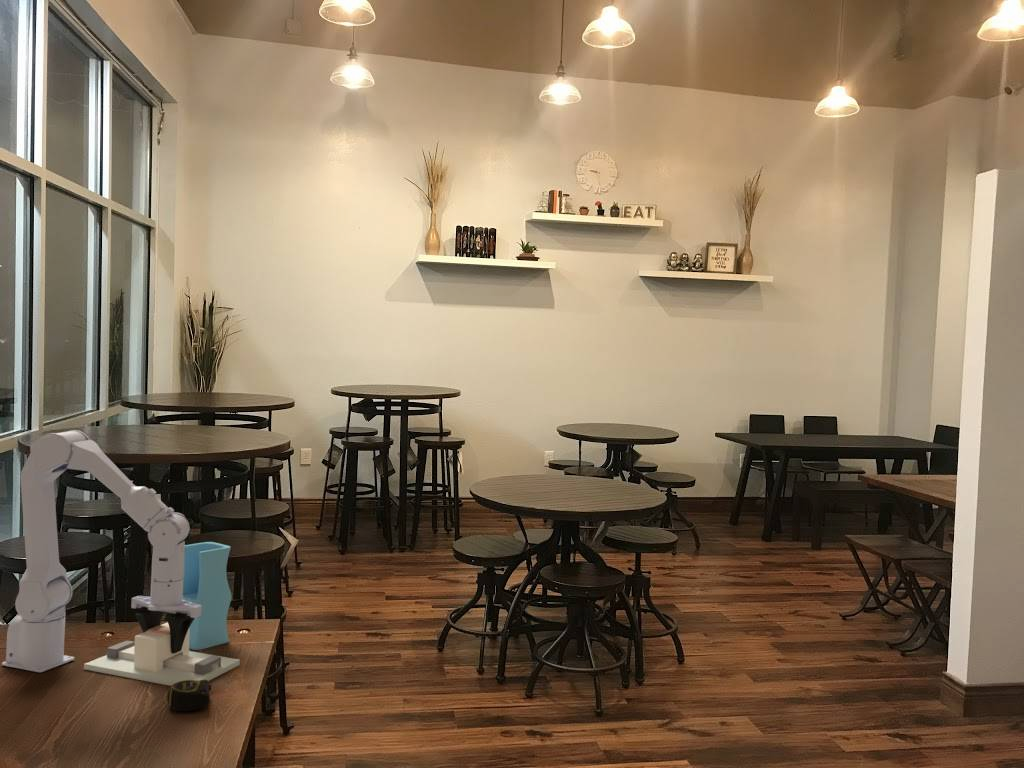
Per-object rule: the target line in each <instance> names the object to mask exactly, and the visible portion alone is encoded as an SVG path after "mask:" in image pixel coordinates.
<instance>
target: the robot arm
mask: <svg viewBox="0 0 1024 768" xmlns="http://www.w3.org/2000/svg"><path fill="white" fill-rule="evenodd" d="M29 448H30V453H29V454H28V457H27V459H26V460H25V461H26V462H25V463H24V465H23V467H22V470H21V472H20V476H19V477H20V478H19V479H20V487H21V488H20V489H21V490H20V492H21V505H22V519H23V532H24V533H23V535H24V547H25V562H26V569H25V571H24V573H23V575H22V577H21V578H20V579H19V583H18V585H19V589H18V593H17V596H16V598H15V603H14V604H15V610H16V612H17V614H18V615H17V616H15V617H14V618H13V619H12V620H11V622H10V623H9V625H8V628H7V632H6V633H7V634H6V651H5V653H6V654H5V655H6V656H5V661H3V662H1V665H2V666H5V667H10V668H16V669H20V670H25V671H30V672H35V673H43V672H46V671H48V670H51V669H54V668H57V667H59V666H61V665H64V664H67V663H69V662H71V661H75V656H71V655H64V653H65V636H66V635H65V632H66V631H65V629H66V605H67V604H68V603H70V601H71V599H72V597H73V587H72V584H71V582H70V581H69V579H68V576H67V569H66V568H65V567H64V565H62V564H61V562H60V553H59V539H58V525H57V524H58V523H57V512H56V510H57V509H56V508H57V507H56V497H55V480H57V479H58V477H60V475H62V474H63V473H64V472H65V471H66V470H68V469H69V470H76V471H83V472H84V471H85V472H88V473H89V474H90V475H92V476H93V477H94V478H95V479H97V480H98V481H99V482H100V483H102V485H104V487H106V488H108V489H109V490H110V491H111V492H112V493H113V494H114V495H116V496H117V497H118V498H119V499H120V507H121V510H123V512H125V513H126V515H128V516H129V517H130V518H131V519H132V520H133V521H134V522H135V523H137V525H139V526H140V528H142V529H143V530H144V531H145V532H147V538H148V541H149V542H150V544H151V545H152V555H151V556H152V558H151V574H150V575H151V577H150V596H144V595H137V596H134V597H131V602H130V603H131V604H130V605H131V606H130V607H131V609H140V610H139V612H136V613H135V618H136V621H137V622H138V624H139V625H140V628H141V629H142V633H144V632H146V631H147V630H148V629H151V628H153V627H155V626H158V625H161V621H162V618H163V615H164V613H168V614H174V615H172V616H169V617H168V618H166V621H167V622H168V624H169V628H170V635H171V653H173V654H175V653H177V652H179V651H181V649H182V646H183V642H184V639H185V636H186V634H187V631H188V629H189V627H190V625H191V624H192V622H193V620H194V619H195V617H198V616H200V615H201V607H202V605H197V604H194V603H191V602H188V601H186V600H183V578H184V558H185V554H184V549H185V545H186V544H185V543H186V542H185V539H186V538H187V537H188V536H189V534H190V528H191V527H190V522H189V521H188V519H187V517H186V516H185V514H182V513H181V512H175V509H174V508H173V507H171V506H169V507H168V505H166V504H165V503H164V502H163V501H162V500H161V499H160V498H159V497H157V495H156V494H157V491H156V490H155V489H154V488H148V487H146V486H144V485H143V486H140V485H139V486H137V485H135V484H134V483H133V482H132V481H131V480H130V479H129V477H127V476H126V475H125V473H123V471H121V469H120V468H119V467H117V465H116V464H115V463H114V462H113V461H112V460H111V459H110V458H109V457H108V456H107V455H106V454H105V453H104V452H103V450H102V449H101V448H100V446H99V445H98V443H97V442H96V441H94V440H93V439H90V438H89V437H88V435H87V434H86V433H84V432H83V431H81V430H76V429H71V430H68V431H62V432H56V433H55V432H51V433H45V434H44V435H42V436H40V437H39V438H38V439H37V440H35V442H34V443H32V444H31V445H30V446H29Z"/></svg>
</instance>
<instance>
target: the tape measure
mask: <svg viewBox="0 0 1024 768" xmlns="http://www.w3.org/2000/svg"><path fill="white" fill-rule="evenodd" d="M211 687H212V684H210V680H209V681H208V680H201V681H196V680H184V681H180V682H177V683H175V684H173V685H172V686H170V687H169V689H168V690H167V695H166V697H167V699H166V701H167V704H168V706H169V707H170V709H172V710H174V711H179V712H190V711H194V710H201V709H205V708H208V706H209V705H210V699H211V697H210V691H211V689H212V688H211Z"/></svg>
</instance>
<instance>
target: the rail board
mask: <svg viewBox="0 0 1024 768" xmlns="http://www.w3.org/2000/svg"><path fill="white" fill-rule="evenodd" d="M134 646H135V641H133V640H124V641H122V642H121V641H120V642H118V643H116V644H114V645H111V646H109V647H107V648H106V649H107V650H106V655H103V656H100V657H97V658H96V659H94V660H93V659H92V660H91V661H89V662H85V663H84V664H83V670H86V671H90V672H95V673H101V674H106V675H107V674H108V675H112V676H118V677H124V678H127V679H133V680H139V681H143V682H148V683H155V684H159V685H165V686H170V687H171V686H172V685H173V684H175V683H177V682H180V681H184V680H196V681H201V680H208V681H209V682H210V681H212V680H213V679H215V678H217V677H219V676H221V675H223V674H224V673H227V672H229V671H230V670H233V669H235V668H236V667H238V666H240V664H241V662H240V661H241V660H240V659H238V658H234V657H233V658H231V657H226V656H221V655H214V654H209V653H204V652H198V651H191V650H189V656H186V655H180V654H176V655H174V656H172V657H170V658H168V659H166V660H164V661H163V669H162V670H160V671H158V672H152V671H147V670H141V669H136V668H134Z"/></svg>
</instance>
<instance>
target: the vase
mask: <svg viewBox="0 0 1024 768" xmlns="http://www.w3.org/2000/svg"><path fill="white" fill-rule="evenodd" d="M230 551H231V546H230V545H227V544H222V543H219V542H214V541H204V542H198V543H191V544H185V549H184V554H185V558H184V578H183V600H186V601H188V602H191V603H194V604H197V605H202V607H201V615H200V616H198V617H195V619H194V620H193V622H192V624H191V625H190V637H189V650H193V651H201V650H203V649H208V648H211V647H215V646H218V645H219V646H220V645H223V644H226V643H229V642H230V638H229V635H228V634H229V633H228V628H227V627H228V626H227V619H228V612H229V609H230V606H231V605H230V604H231V602H232V591H231V589H230V585H229V582H228V581H229V580H228V576H227V565H228V559H229V555H230Z"/></svg>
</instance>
